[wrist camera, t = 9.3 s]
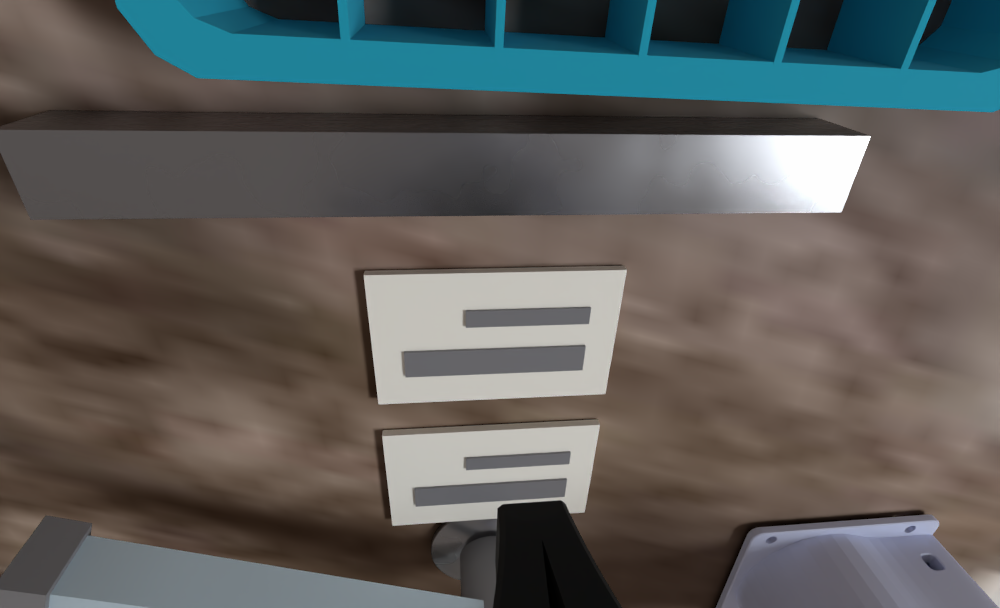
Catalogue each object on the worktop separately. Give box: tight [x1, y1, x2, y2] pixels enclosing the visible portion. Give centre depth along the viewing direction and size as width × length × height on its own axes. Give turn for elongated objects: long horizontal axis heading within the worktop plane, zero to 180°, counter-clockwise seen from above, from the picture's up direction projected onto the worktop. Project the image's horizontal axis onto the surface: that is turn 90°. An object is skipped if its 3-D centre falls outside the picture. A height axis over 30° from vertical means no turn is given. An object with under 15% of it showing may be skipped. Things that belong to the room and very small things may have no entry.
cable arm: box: [0, 516, 496, 608], centre depth 19 cm, size 16×3×5 cm, turn 65°
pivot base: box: [431, 519, 497, 580], centre depth 23 cm, size 5×5×1 cm
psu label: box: [364, 266, 627, 404], centre depth 17 cm, size 8×5×1 cm, turn 88°
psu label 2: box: [382, 419, 600, 526], centre depth 21 cm, size 8×5×1 cm, turn 88°
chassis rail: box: [0, 110, 871, 220], centre depth 13 cm, size 20×2×2 cm, turn 88°
